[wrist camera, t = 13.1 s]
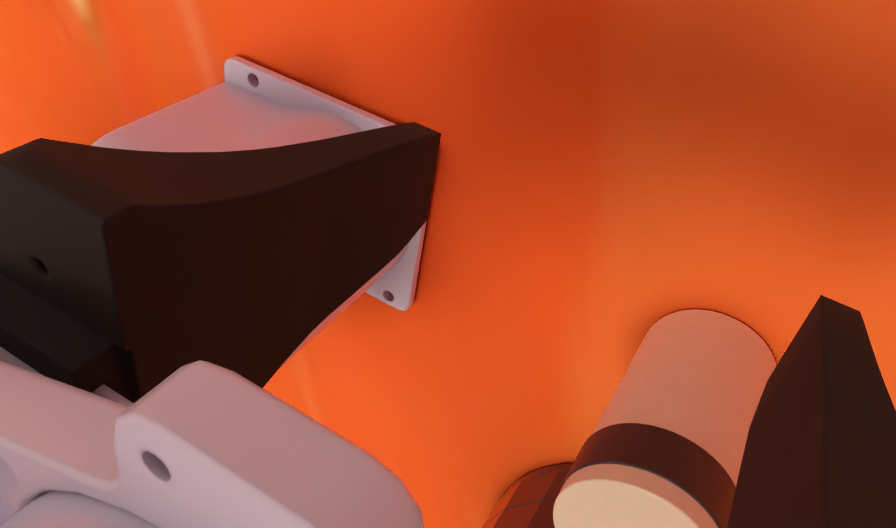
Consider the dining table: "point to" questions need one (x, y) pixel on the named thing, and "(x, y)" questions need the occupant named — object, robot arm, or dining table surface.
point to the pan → (530, 500)
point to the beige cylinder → (671, 429)
